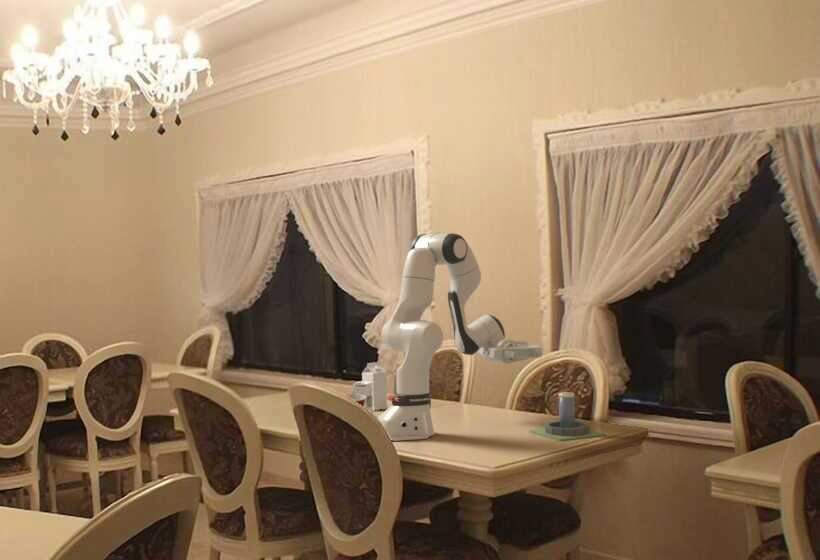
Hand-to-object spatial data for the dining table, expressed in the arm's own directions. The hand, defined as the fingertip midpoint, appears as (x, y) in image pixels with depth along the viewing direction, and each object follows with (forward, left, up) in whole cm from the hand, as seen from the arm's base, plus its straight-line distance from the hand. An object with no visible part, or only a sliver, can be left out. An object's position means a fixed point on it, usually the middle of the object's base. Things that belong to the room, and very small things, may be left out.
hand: (526, 353), depth 299 cm
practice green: (+4, -18, -26) cm, 31 cm away
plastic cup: (-56, +27, -26) cm, 67 cm away
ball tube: (+4, -18, -25) cm, 31 cm away
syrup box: (-46, +42, -26) cm, 68 cm away
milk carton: (-32, +65, -26) cm, 77 cm away
